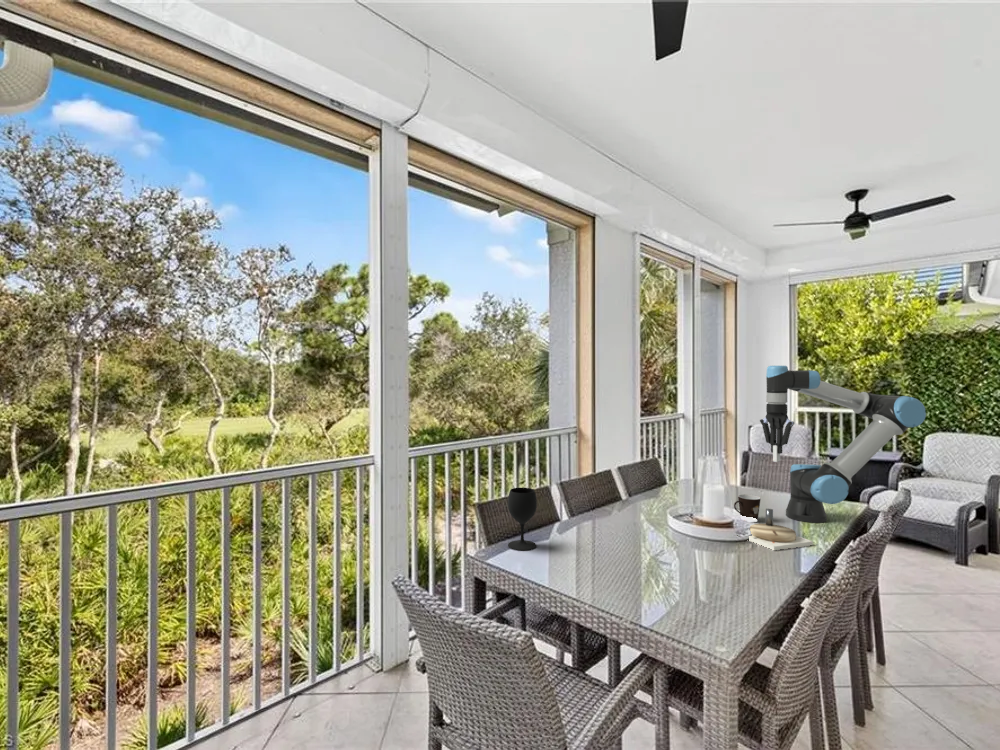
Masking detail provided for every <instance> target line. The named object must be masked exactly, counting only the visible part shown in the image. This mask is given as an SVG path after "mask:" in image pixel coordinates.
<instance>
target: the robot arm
mask: <svg viewBox="0 0 1000 750" xmlns="http://www.w3.org/2000/svg"><path fill="white" fill-rule="evenodd" d="M765 377H766V378H765V379H766V397H765V398H766V400H765V401H766V402H767V404H766V405H765V407H766V408H765V409H766V411H765V412H766V415H765V417H764V418H763V419H759V422H760V424H761V425H762V430H763V434H764V437H765V442H766V444H770V453H771V454H772V462H773V463H774V462H775V463H776V462H777V463H778V462H781V455H782V454H783V446H784V445H788V443H789V439H790V436H791V432H792V428H793V426H794V425H795V421H792V420H790V419H789V415H788V391H789V390H790V391H793V392H798V393H801V394H803V395H807V396H808V397H809V396H810V397H814V398H815V399H820V400H823V401H825V402H828V403H832V404H834V405H839V406H840V407H844V408H847V409H850V410H852V412H854V413H855V414H858V415H860V416H864V417H865V418H868V419H871V420H872V421H871V422H870V424H869V425H867V426H866V427H865V428H864V429H863V430H862V431H861V432H860V433H859V434H858V435H857V436H856V437H855V438H854V439H853V440H852V441H851V442H850V443H849V444H848V445H847V446H846V447H845V448H844V449H843V450H842V451H841V452H840V453H839V454H838V455H837V457H835V458H834V459H833V460H832V461H831V462H825V463H823V464H822V465H820V464H808V463H807V464H806V463H805V464H804V463H800V464H799V463H798V464H797V463H793V464H792V465H790V470H789V471H790V472H789V474H790V481H789V482H790V484H789V485H790V499H789V501H788V504H787V505H786V506H787V507H786V509H785V516H786V517H787V518H789V519H792V520H796V521H799V522H805V523H826V522H827V521H828V516H827V512H826V510H825V507H824V504H828V505H837V504H839V503H841V502H843V501H844V500H846V498H847V497H848V495H849V488H850V486H851V485H852V482H853V481H852V478H853V477H854V476H855V475H856V474H857V473H858V472H859V471H860V470H861V469H862V468H863V467H864V466H865V465H866V464H867V463H868V462H869V461H870V460H871V459H872V458H873V457H874V456H875V455H876V454H877V453H878V452H879V451H880V450H881V449H882V448H883V447H884V446H885V445H886V444H887V443H888V442H889V441H890V440H891V439H892V438H893V437H894V436H899V435H900V436H901V435H903V434H904V433H905V432H906V431H907V430H908V429H909V428H915V427H919V426H920V425H921V424H922V423H924V422H925V420H926V416H927V413H926V407H925V406H924V404H923V402H922V401H921V400H919V399H918V398H915V397H911V396H908V395H902V396H900V395H889V394H888V395H887V394H875V393H869V392H866V391H861V392H858V391H855V390H852V389H848V388H845V387H843V386H839V385H835V384H832V383H829V382H827V381H823V380H821V374H820V373H819V371H817V370H811V369H810V370H809V369H808V370H806V369H805V370H803V369H802V370H799V369H797V370H790V369H788V366H787V365H768V367H767V368H766V375H765ZM784 425H785V428H784Z"/></svg>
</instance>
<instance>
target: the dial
mask: <svg viewBox="0 0 1000 750" xmlns="http://www.w3.org/2000/svg"><path fill="white" fill-rule="evenodd" d="M749 529H750V531H751V534H752V535H753V536H755V537H758V538H761V539H765V540H770V541H778V542H790V541H794V540H795V539H796V536H797V533H796V530H794V529H792V528H790V527H787V526H783V525H779V524H774V509H772V508H765V523H752V524H751V525H749Z"/></svg>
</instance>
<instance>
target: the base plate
mask: <svg viewBox="0 0 1000 750" xmlns="http://www.w3.org/2000/svg"><path fill="white" fill-rule="evenodd" d="M748 542H750V543H753V542H754V543H753V544H756V543H757V544H756V545H758V544H759V545H758V546H761V545H762V546H761V547H763V546H764V548H765V547H767V548H766V549H768V548H770V549H772V550H771V551H773V550H777V551H781V550H780V549H784V550H789V549H788V548H791V549H795V548H796V547H798V548H805V547H811V546H810V545H812V546H813V544H814V543H813V540H810V539H806V538H804V537H802V536H799V535H796V539H795V540H794V541H790V542H778V541H770V540H765V539H761V538H758V537H755V536H753V535H752V536H749V541H748ZM804 546H805V547H804ZM770 549H769V550H770Z"/></svg>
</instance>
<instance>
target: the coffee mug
mask: <svg viewBox="0 0 1000 750" xmlns="http://www.w3.org/2000/svg"><path fill="white" fill-rule="evenodd" d="M761 500H762V499H761V497H760V496H758V495H753V494H737V501H735V502H734V504H733V508H734V509H735V511H736V512H737V513H739V516H740V515H742V516H746V517H753V518H756V519H757V520H759V516H760V515H759V513H760V507H761V506H760V505H761ZM737 503H738V507H739V510H738V508H737V506H736V505H737Z"/></svg>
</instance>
